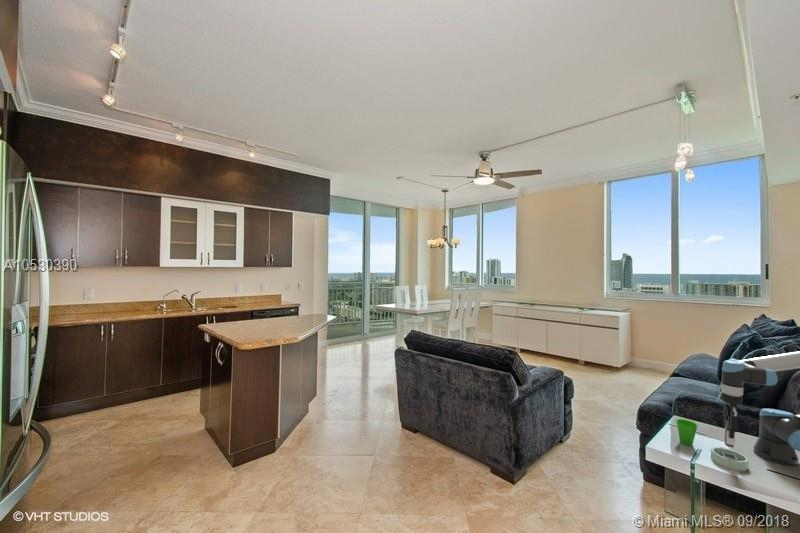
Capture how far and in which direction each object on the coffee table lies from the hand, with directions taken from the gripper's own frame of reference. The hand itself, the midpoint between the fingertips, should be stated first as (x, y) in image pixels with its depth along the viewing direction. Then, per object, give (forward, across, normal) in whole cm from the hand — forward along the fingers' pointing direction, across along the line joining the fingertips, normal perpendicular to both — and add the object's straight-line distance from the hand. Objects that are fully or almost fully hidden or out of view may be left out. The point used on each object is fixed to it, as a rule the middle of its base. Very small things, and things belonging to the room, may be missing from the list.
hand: (729, 442), depth 166 cm
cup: (+10, -12, -14) cm, 21 cm away
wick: (+2, 0, 0) cm, 2 cm away
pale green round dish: (+10, 0, 0) cm, 10 cm away
